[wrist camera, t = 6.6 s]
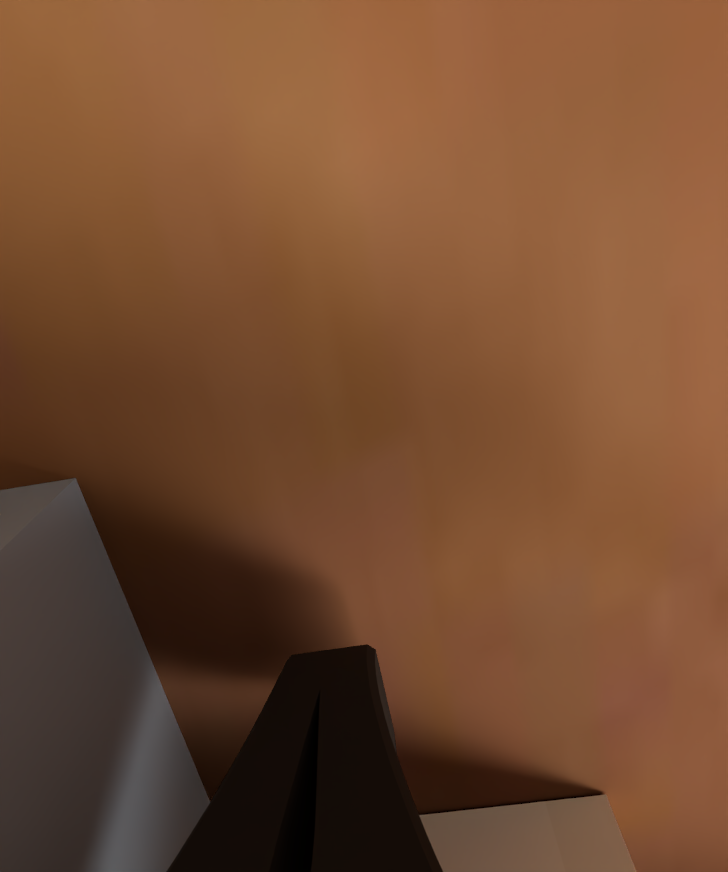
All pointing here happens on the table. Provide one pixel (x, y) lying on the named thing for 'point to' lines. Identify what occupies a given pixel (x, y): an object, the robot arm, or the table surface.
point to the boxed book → (81, 704)
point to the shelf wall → (530, 838)
